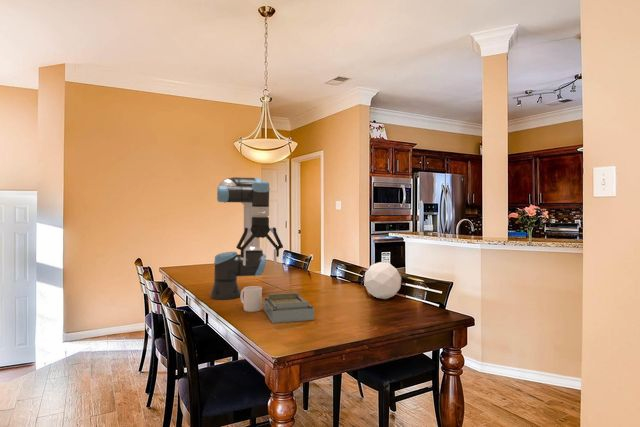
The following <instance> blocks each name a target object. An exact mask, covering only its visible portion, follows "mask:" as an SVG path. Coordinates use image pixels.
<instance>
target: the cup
mask: <svg viewBox="0 0 640 427" xmlns="http://www.w3.org/2000/svg"><path fill="white" fill-rule="evenodd" d="M239 298H240V302H241V303H242V304H243V310H244V312H248V313H255V312H259V311H261V310H262V304H263V302H262V301H263V288H262V286H257V285H256V286H255V285H252V286H251V285H250V286H249V285H248V286H244V287H243V289H241V291H240V296H239Z"/></svg>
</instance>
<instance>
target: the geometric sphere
mask: <svg viewBox="0 0 640 427" xmlns="http://www.w3.org/2000/svg"><path fill="white" fill-rule="evenodd" d="M401 283H402V276H401V274H400V272H399V271H398V269H397V268H396V267H395V266H393V265H392V264H391V263H390V262H381V261H379V262H376V263H374V264H371V265H370V266H369V267H368V269H367V270H366V271H365V273H364V280H363V284H364V287H365V288H366V291H367V293H369V294H371V295H372V297H374V298H375V297H376V298H377V299H381V300H387V299H390V298H392V297H394V296H395V295H396V294H397V293H398V292H399V291H400V289H401V285H402V284H401Z"/></svg>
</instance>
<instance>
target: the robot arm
mask: <svg viewBox="0 0 640 427" xmlns="http://www.w3.org/2000/svg"><path fill="white" fill-rule="evenodd" d="M216 188H217V192H216V193H217V194H216V195H217V197H216V198H217V199H216V201H217V202H218V203H224V204H225V203H241V204H242V205H243V232H242V235H241V236H240V239H239V241H238V243H237V245H236V249H237V250H240V253H239V254H238V252H237V251H226V252H221V253H218V254H215V256H214V263H213V265H214V275H213V276H214V277H213V278H214V280H213V281H214V282H213V285H212V288H211V292H210V298H211V299H215V300H233V299H237V298H240V294H241V291H240V288H239V285H238V277H251V276H252V277H257V276H262V275H263V274H264V273H265V272H264V271H265V267H266V258H267V257H266V254H265V253H263V249H262V248H261V245H260V244H261V241H260V240H261V239H264V238H266V239H267V240H268V241H269V243H270V244H271V245H272V246H273V248H274V249H273V265H277V264H278V263H277V261H278V260H277V258H279V255H280V250H281V249H283V248H284V245H283V243H282V241H281V239H280V237H279V235H278V232H277V228H276V227H270V217H269V216H270V190H271V188H270V182H269V181H265V180H263V179H262V178H258V177H257V178H256V177H235V176H234V177H228V178H225V179H223V180H221V181H220V183H219V184H218V185H217V187H216ZM270 232H271V233H272V234H273V237H274V239H275V240H276V242H275V241H274V240H273V239H272V237H271V236H270V235H269V233H270Z"/></svg>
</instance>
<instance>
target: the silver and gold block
mask: <svg viewBox="0 0 640 427" xmlns="http://www.w3.org/2000/svg"><path fill="white" fill-rule="evenodd" d="M263 311H264V313H265V315H266V316H267V317H268V319H269V320H270V322H271V323H272V324H278V323H280V324H281V323H291V322H294V323H295V322H303V321H307V322H308V321H314V320H315V307H314V306H313V305H312V304H310V301H309V300H305V299H304V298H303V297H302V295H300V294H299V292H287V293H285V292H284V293H283V292H282V293H269V294H268V297H264V299H263Z"/></svg>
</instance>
